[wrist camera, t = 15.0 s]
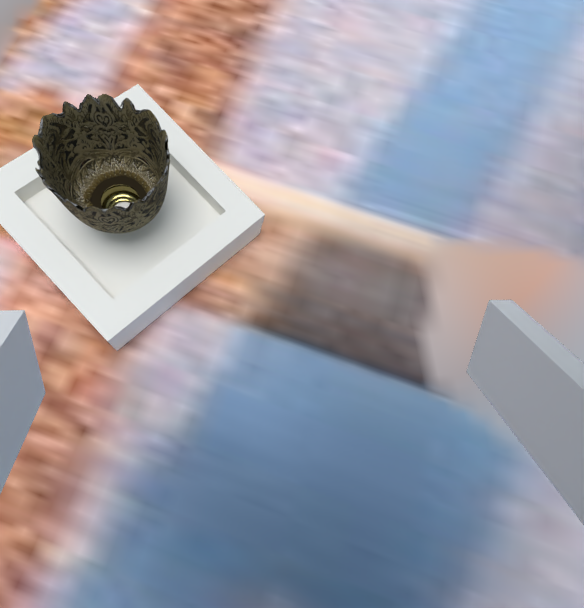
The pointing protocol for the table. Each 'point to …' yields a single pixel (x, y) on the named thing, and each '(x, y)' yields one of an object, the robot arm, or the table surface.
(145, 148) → the filigree tulip shade
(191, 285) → the seat plinth
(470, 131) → the table surface
